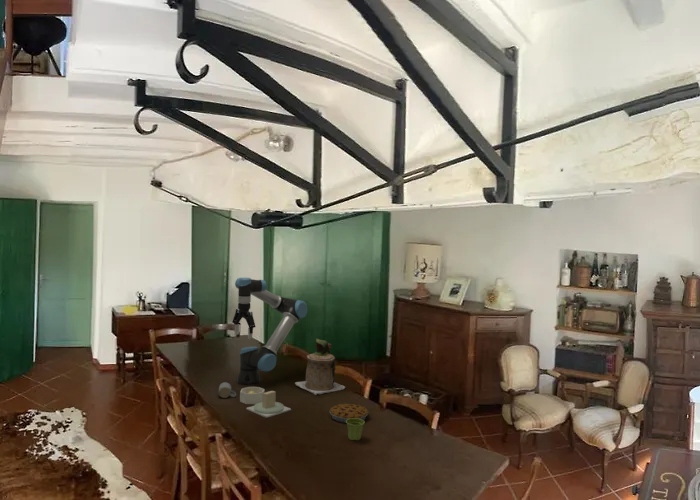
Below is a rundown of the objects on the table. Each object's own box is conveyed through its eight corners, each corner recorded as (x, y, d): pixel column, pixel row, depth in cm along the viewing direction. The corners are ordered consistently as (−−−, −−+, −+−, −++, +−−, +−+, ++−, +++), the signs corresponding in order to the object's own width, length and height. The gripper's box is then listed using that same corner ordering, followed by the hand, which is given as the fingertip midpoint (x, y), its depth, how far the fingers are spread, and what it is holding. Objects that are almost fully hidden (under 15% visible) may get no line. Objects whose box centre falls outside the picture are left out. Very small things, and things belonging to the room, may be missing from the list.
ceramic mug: (218, 398, 325) (218, 386, 325) (218, 394, 333) (219, 382, 333) (236, 398, 328) (237, 386, 327) (236, 394, 336) (236, 382, 335)
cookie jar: (316, 396, 338) (318, 345, 336) (293, 386, 356) (295, 337, 354) (346, 389, 354) (348, 340, 352) (322, 379, 373) (324, 333, 371)
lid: (270, 401, 322) (271, 386, 322) (289, 408, 311) (290, 393, 311) (247, 407, 310) (247, 392, 309) (266, 416, 298) (267, 399, 298)
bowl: (254, 394, 335) (254, 385, 335) (268, 400, 326) (268, 390, 326) (235, 399, 325) (236, 390, 324) (250, 405, 316) (250, 395, 315)
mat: (270, 402, 323) (270, 400, 323) (291, 410, 311) (291, 408, 311) (246, 409, 310) (246, 407, 310) (266, 417, 298) (266, 416, 298)
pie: (373, 413, 311) (373, 405, 311) (361, 427, 291) (361, 417, 290) (337, 408, 318) (337, 399, 318) (323, 420, 298) (323, 411, 297)
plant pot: (352, 433, 281) (352, 416, 281) (367, 437, 276) (368, 421, 276) (341, 438, 274) (342, 421, 273) (357, 443, 268) (357, 426, 268)
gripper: (227, 300, 343) (226, 334, 344) (252, 306, 326) (250, 341, 327) (237, 299, 348) (236, 332, 350) (261, 304, 332) (260, 339, 333)
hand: (243, 336), depth 338 cm, fingers open, 13 cm apart
